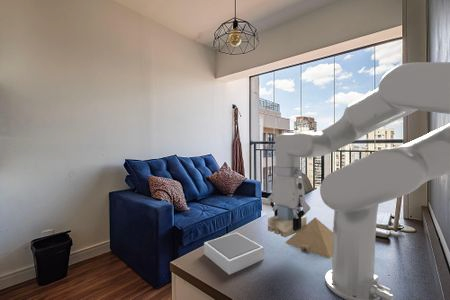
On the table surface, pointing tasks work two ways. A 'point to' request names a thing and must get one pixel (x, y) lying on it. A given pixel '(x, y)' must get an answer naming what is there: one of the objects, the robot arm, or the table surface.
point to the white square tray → (233, 252)
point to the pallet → (284, 226)
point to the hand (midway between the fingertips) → (287, 225)
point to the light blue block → (285, 213)
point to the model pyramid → (314, 239)
